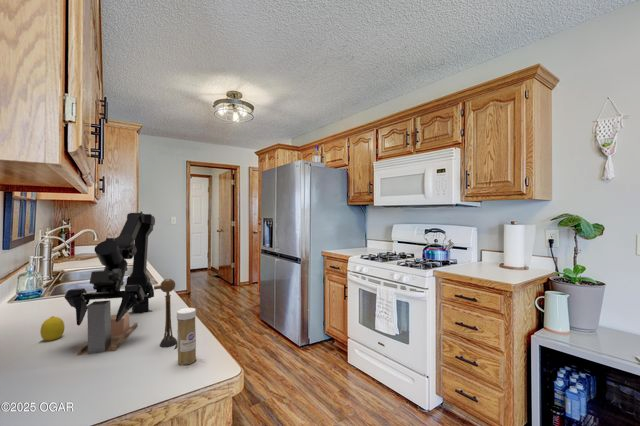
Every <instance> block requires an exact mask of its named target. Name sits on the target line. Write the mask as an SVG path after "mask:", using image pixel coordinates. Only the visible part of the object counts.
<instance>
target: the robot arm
mask: <svg viewBox="0 0 640 426" xmlns="http://www.w3.org/2000/svg"><path fill="white" fill-rule="evenodd" d="M155 225H156V218H155V216H154V215H152V214H151V213H143V212H129V213H127V215H126V220H125V223H124V225H123V228H122V229H121V231H120V233H119V236H117V237H115V238H114V237H106V238H105V240H104V241H101V242H98V244H97V245H95V246H94V253H95V254H96V256H97V258H98V260H99V262H100V264H101V265H102V266H104V269H103V270H95V271H91V273H90V278H89V284H90V285H93V287H92V288H93V290H94V292H87V290H86V289H85V288H70V289H68V290H67V291H66V292H65V294H64V300H66V302H67V303H68V304H69V306H70V307H71V308H74V309H75V315H76V318H75V319H76V325H77V326H81V324H82V323H83V320H84V318H85V315H86V313H87V306H88V305H89V304H90V301H92V300H93V301H94V300H109V299H110V300H111V299H121V302H120V305H119V307H118V311H117V314H116V315H117V316H116V322H119V320H120V319H121V318H122V317H123V316H124V315H125V314H129V315H132V314H143V313H152V312H153V310H151V309H149V307H150V306H149V305H150V304H149V301H150V300H149V299H152V298H154V297H155V290H154V285H152V284H153V283H152V282H151V277H150V276H149V274H148V273H147V267H148V266H147V265H148V264H147V263H148V247H149V236H150V235H151V233H152V232H153V231H154V226H155ZM132 259H133V260H132ZM127 260H132V273H131V274H130V275H129V276H127V278H126V284H125V286H124V290H121V288H122V286H123V285H124V279H125V274H126V272H127V271H128V262H127ZM95 290H96V291H95ZM130 310H131V311H130ZM128 311H130V312H128Z"/></svg>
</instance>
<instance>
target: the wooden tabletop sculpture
mask: <svg viewBox="0 0 640 426" xmlns="http://www.w3.org/2000/svg"><path fill="white" fill-rule="evenodd" d="M175 287H176V282H175V281H174V279H172V278H165V279H164V280H162V281H161V283H160V284H159V285H158V284H157V285H153V289H154V291H156V290H161V291H162V292H163V293H165V294H166V295H165V296H164V297H165V322H164V323H165V327H164V334H163V338H162V340H161V341H160V344H159V347H160V348H162V349H164V348H166V349H167V348H171V347H174V346H175V347H174V349H173V350H176V349H178V341H177V338H176V337H175V336H173V328H172V319H171V318H172V314H171V311H172V310H171V296H172V295H171V294H170V293H171V292H172V291H174V290H175Z"/></svg>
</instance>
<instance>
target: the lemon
mask: <svg viewBox="0 0 640 426" xmlns="http://www.w3.org/2000/svg"><path fill="white" fill-rule="evenodd" d="M64 332H65V322H64V321H63V319H62V318H60V317H57V316H55V315H51V316H50V317H49V318H47V319H45V320H44V321H43V323H42V324H41V326H40V336H41V338H42V340H43V341H46V342H51V341H56V340H59V339H60V338H61V337H62V336H63V334H64Z"/></svg>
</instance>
